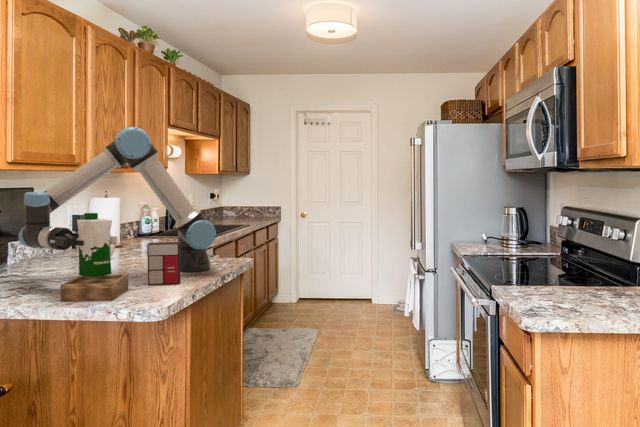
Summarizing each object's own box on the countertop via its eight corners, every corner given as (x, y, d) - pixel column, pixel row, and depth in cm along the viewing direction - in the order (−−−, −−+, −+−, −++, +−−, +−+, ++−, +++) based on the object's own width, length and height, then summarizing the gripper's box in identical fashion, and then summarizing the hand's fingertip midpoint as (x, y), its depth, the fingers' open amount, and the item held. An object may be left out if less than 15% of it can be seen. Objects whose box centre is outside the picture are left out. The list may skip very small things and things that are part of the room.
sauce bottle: (93, 260, 223) (92, 222, 222) (107, 257, 230) (106, 221, 229) (104, 261, 219) (103, 223, 218) (118, 259, 226) (117, 222, 225)
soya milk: (100, 271, 157) (99, 212, 156) (116, 274, 152) (115, 213, 151) (74, 275, 150) (73, 213, 149) (90, 278, 145) (89, 214, 144)
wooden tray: (128, 289, 160) (128, 274, 160) (113, 300, 145) (112, 283, 144) (81, 290, 158) (80, 275, 158) (60, 301, 143) (60, 284, 143)
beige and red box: (147, 285, 166) (146, 244, 165) (149, 283, 170) (148, 242, 169) (179, 284, 168) (178, 243, 167) (180, 282, 172) (180, 241, 172)
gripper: (84, 245, 168) (131, 249, 158) (26, 253, 148) (75, 258, 139) (84, 225, 167) (130, 227, 158) (25, 229, 148) (74, 233, 139)
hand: (104, 241), depth 149 cm, fingers closed on soya milk, 9 cm apart
